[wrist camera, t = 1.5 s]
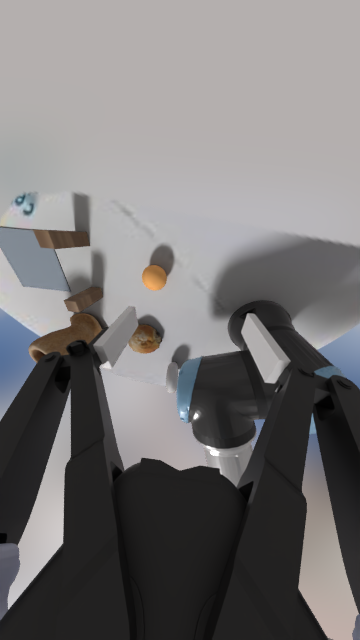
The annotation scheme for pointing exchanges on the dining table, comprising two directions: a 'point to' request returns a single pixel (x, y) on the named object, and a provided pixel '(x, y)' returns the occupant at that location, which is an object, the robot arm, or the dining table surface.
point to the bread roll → (145, 339)
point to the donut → (172, 377)
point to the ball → (154, 277)
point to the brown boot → (66, 336)
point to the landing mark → (32, 260)
